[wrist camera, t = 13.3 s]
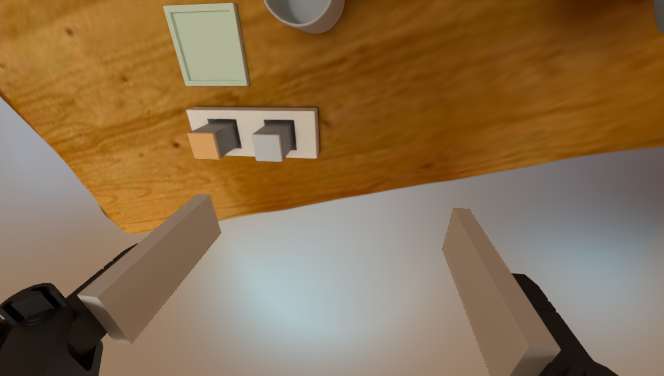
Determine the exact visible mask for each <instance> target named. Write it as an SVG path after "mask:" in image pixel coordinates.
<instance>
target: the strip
mask: <svg viewBox="0 0 664 376" xmlns="http://www.w3.org/2000/svg"><path fill="white" fill-rule="evenodd" d="M186 111H187V114H188V118H189V121H190V125H191V128H192V131H193V130H195V129H198V128H200V127H202V126H204V125H206V124H209V123H211V122H213V121H215V120H217V119H236V121H237V126H238V131H239V136H240V141H241V144H239V145H238V146H237V147H235V148H234V149H233V150H231V151H230V152H228V153H227V154H226V155H229V156H255V152H254V146H253V140H252V134H253V133H255V132H256V131H257V130H259V129H260V128H262V127H263V126H264V125H266V124H267V123H269V122H270V121H271V120H294V123H295V134H296V144H295V145H294V147H293V148H292V149H291V150H290V152H289V153H288V154H287V156H286V157H288V158H317V157H318V155H319V152H320V139H319V115H318V107H263V106H197V107H194V108H191V109H188V110H186Z"/></svg>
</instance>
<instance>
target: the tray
mask: <svg viewBox="0 0 664 376" xmlns="http://www.w3.org/2000/svg"><path fill="white" fill-rule="evenodd" d="M163 8H164V11H165V15H166V18H167V22H168V25H169V29H170V32H171V36H172V39H173V43H174V46H175V50H176V53H177V57H178V60H179V64H180V67H181V71H182V74H183V78H184V81H185V85H186V86H249V85H250V80H249V74H248V68H247V62H246V56H245V50H244V44H243V38H242V32H241V26H240V20H239V14H238V8H237V4H235V3H220V4H197V5H175V6H163Z"/></svg>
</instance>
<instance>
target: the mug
mask: <svg viewBox="0 0 664 376" xmlns="http://www.w3.org/2000/svg"><path fill="white" fill-rule="evenodd" d="M263 1H264V3H265V5H266V6H267V8H268V10H269V11H270V12H271V13H272V14H273V15H274V16H275V17H276V18H277V19H278V20H279V21H281V22H282V23H284V24H286V25H288V26H291V27H294V28H297V29H300V30H303V31H305V32H308V33H312V34H319V33H323V32H326V31H328V30H330V29H331V28H332V27H333V26H334V25H335V24H336V23H337V22H338V20H339V19H340V17H341V15H342V12H343V9H344V5H345V0H263Z"/></svg>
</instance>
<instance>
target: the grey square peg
mask: <svg viewBox="0 0 664 376" xmlns="http://www.w3.org/2000/svg"><path fill="white" fill-rule="evenodd" d="M252 140H253V146H254V152H255V157H256V161H278V162H282V161H283V159H284V158H285V157H286V156H287V154H288V153H289V152H290V150H291V149H292V148H293V147H294V145H295V144H296V134H295V123H294V120H271V121H270V122H269V123H267V124H266V125H264V126H263V127H262V128H260V129H259V130H257V131H256V132H255V133H253V134H252Z"/></svg>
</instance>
